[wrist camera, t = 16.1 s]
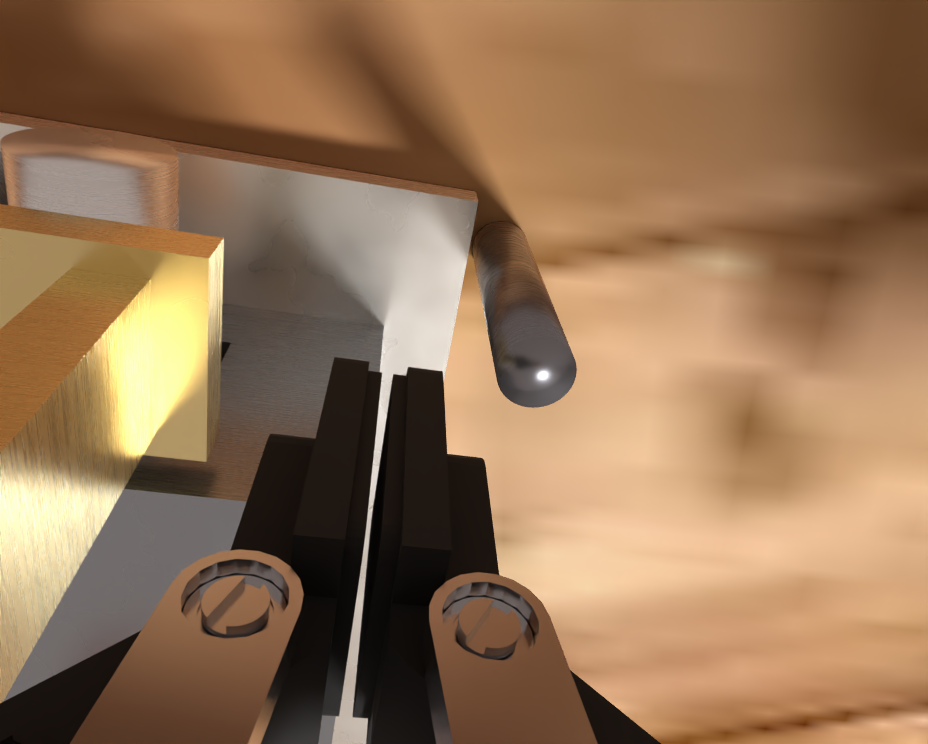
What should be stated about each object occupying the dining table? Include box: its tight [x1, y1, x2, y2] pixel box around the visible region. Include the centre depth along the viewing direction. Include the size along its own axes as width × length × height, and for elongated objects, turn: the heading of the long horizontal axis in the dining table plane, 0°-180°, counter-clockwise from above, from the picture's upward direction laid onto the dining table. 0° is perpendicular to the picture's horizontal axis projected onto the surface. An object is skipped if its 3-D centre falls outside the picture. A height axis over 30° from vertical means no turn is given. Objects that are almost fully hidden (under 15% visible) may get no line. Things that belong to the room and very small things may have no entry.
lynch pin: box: [0, 127, 179, 231], centre depth 15 cm, size 16×5×11 cm, turn 170°
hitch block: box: [0, 112, 577, 744], centre depth 21 cm, size 26×18×9 cm
